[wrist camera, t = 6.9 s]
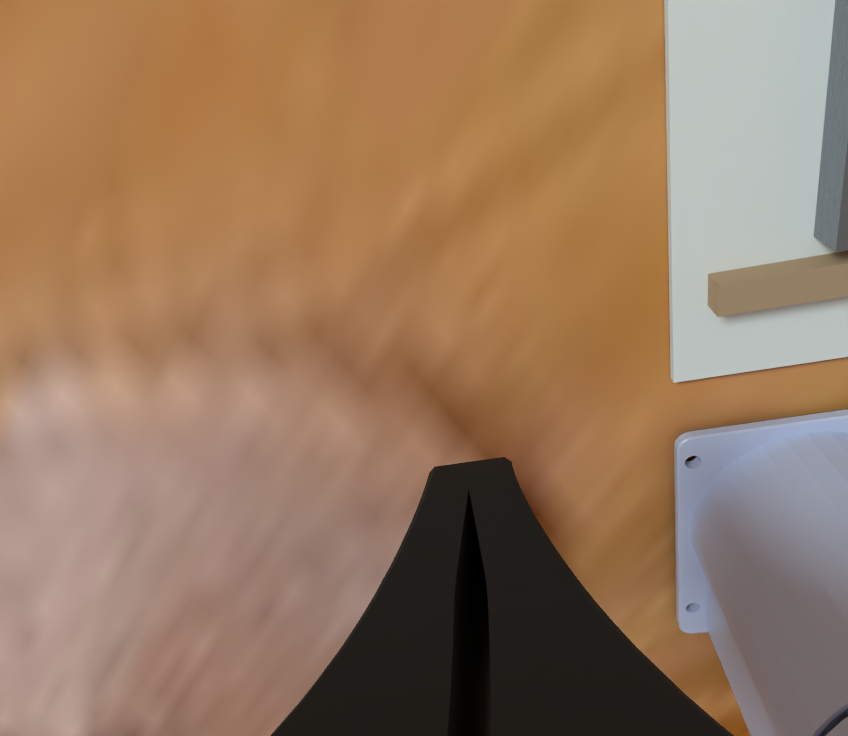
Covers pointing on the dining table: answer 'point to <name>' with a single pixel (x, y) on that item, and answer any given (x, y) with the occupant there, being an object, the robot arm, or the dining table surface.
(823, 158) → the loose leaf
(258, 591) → the dining table surface
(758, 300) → the hinge jig
